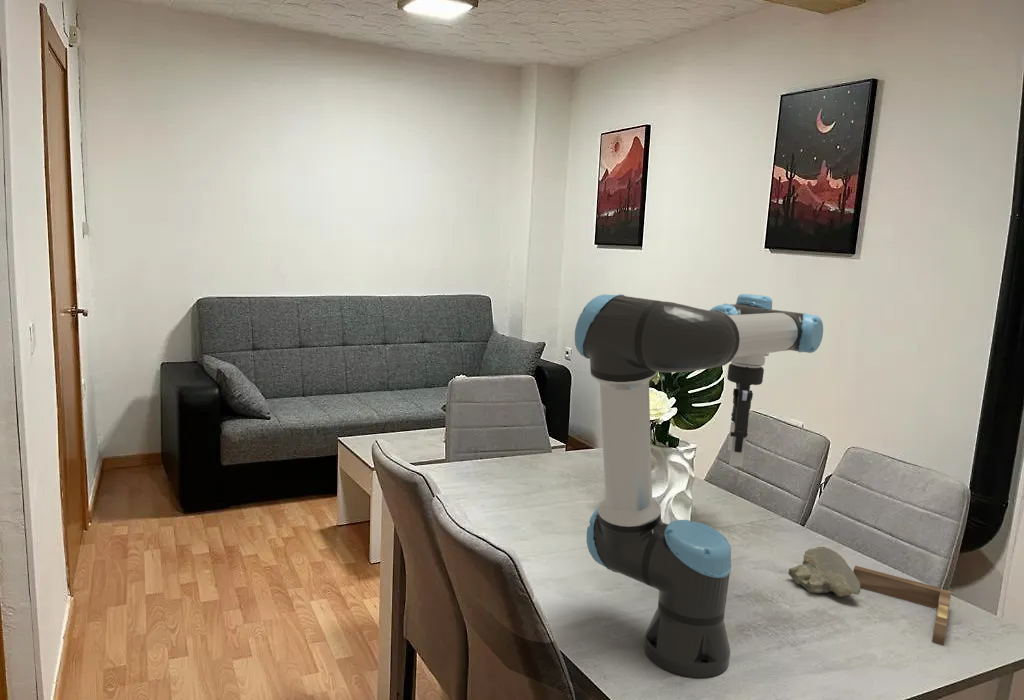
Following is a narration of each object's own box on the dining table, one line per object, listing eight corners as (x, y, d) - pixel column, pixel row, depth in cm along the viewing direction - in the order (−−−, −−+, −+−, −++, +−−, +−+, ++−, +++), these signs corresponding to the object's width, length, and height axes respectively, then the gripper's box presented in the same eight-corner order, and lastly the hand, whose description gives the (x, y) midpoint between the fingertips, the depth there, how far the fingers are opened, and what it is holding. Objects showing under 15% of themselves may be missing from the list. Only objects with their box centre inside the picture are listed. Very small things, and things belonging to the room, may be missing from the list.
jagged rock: (814, 593, 175) (780, 579, 172) (829, 549, 177) (796, 535, 174) (861, 614, 162) (826, 599, 159) (877, 567, 163) (843, 551, 160)
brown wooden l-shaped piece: (943, 645, 149) (947, 625, 148) (839, 614, 158) (841, 595, 158) (948, 608, 164) (951, 589, 164) (852, 582, 174) (855, 564, 173)
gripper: (768, 375, 157) (755, 475, 160) (760, 359, 181) (749, 446, 184) (730, 370, 158) (718, 470, 162) (727, 355, 182) (716, 442, 186)
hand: (734, 458), depth 173 cm, fingers open, 13 cm apart
